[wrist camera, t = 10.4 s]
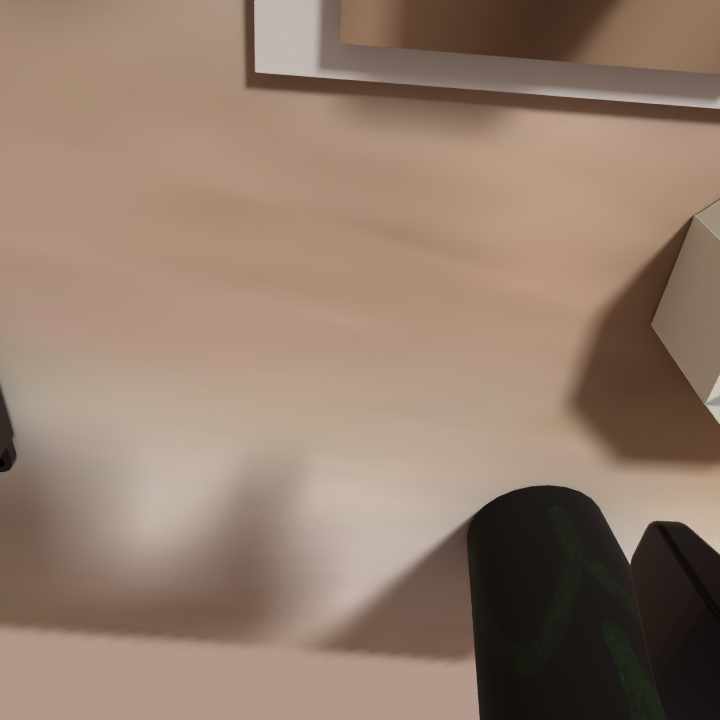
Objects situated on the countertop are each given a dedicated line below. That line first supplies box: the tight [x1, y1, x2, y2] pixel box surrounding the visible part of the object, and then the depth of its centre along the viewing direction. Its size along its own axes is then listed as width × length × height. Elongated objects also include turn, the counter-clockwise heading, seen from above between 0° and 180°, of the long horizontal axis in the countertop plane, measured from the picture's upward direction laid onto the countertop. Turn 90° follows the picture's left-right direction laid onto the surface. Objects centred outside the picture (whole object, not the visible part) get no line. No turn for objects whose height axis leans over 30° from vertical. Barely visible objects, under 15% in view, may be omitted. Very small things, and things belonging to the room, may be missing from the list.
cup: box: [467, 485, 666, 720], centre depth 23 cm, size 8×8×12 cm
